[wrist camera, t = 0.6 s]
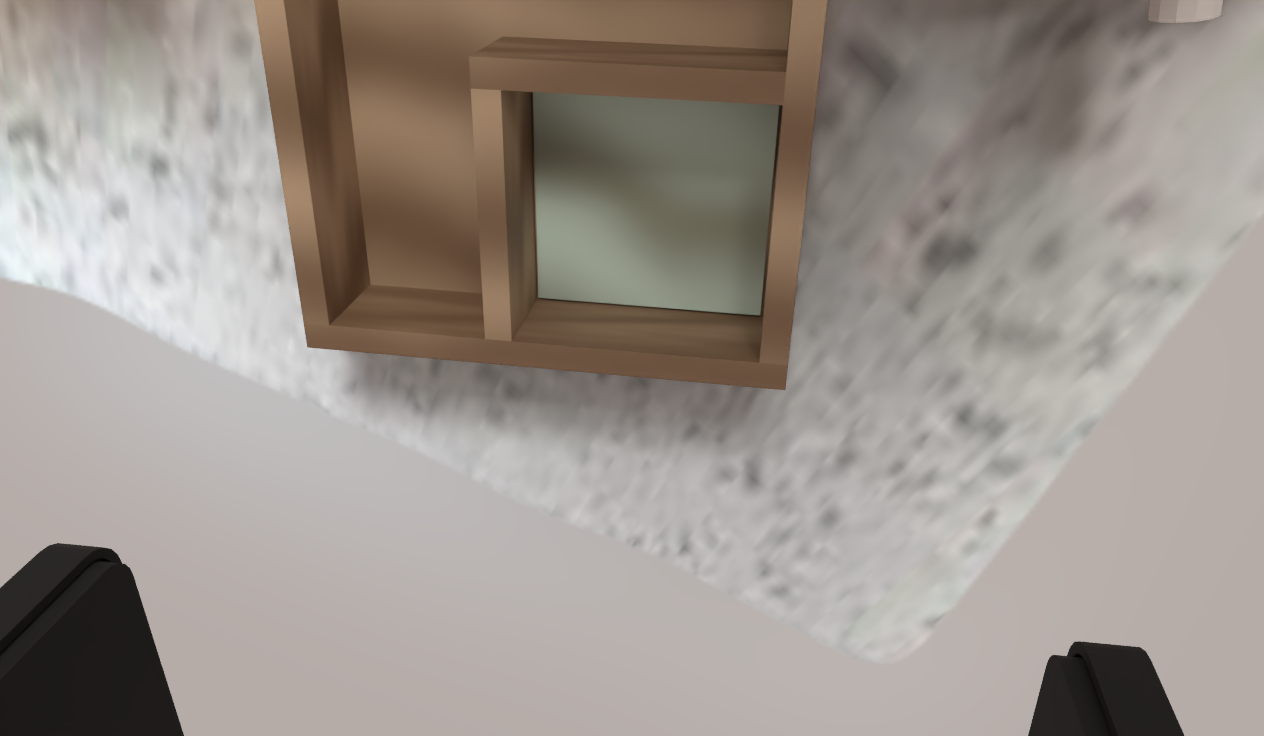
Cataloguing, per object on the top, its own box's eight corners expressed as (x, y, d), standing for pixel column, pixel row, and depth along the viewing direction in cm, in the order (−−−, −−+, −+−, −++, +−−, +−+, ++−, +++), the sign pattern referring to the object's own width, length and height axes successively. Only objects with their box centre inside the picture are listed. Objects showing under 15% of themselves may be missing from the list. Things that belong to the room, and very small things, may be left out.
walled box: (297, -195, 32) (223, -203, 28) (841, -186, 30) (848, -193, 26) (357, 297, 41) (307, 347, 37) (786, 332, 39) (785, 390, 34)
